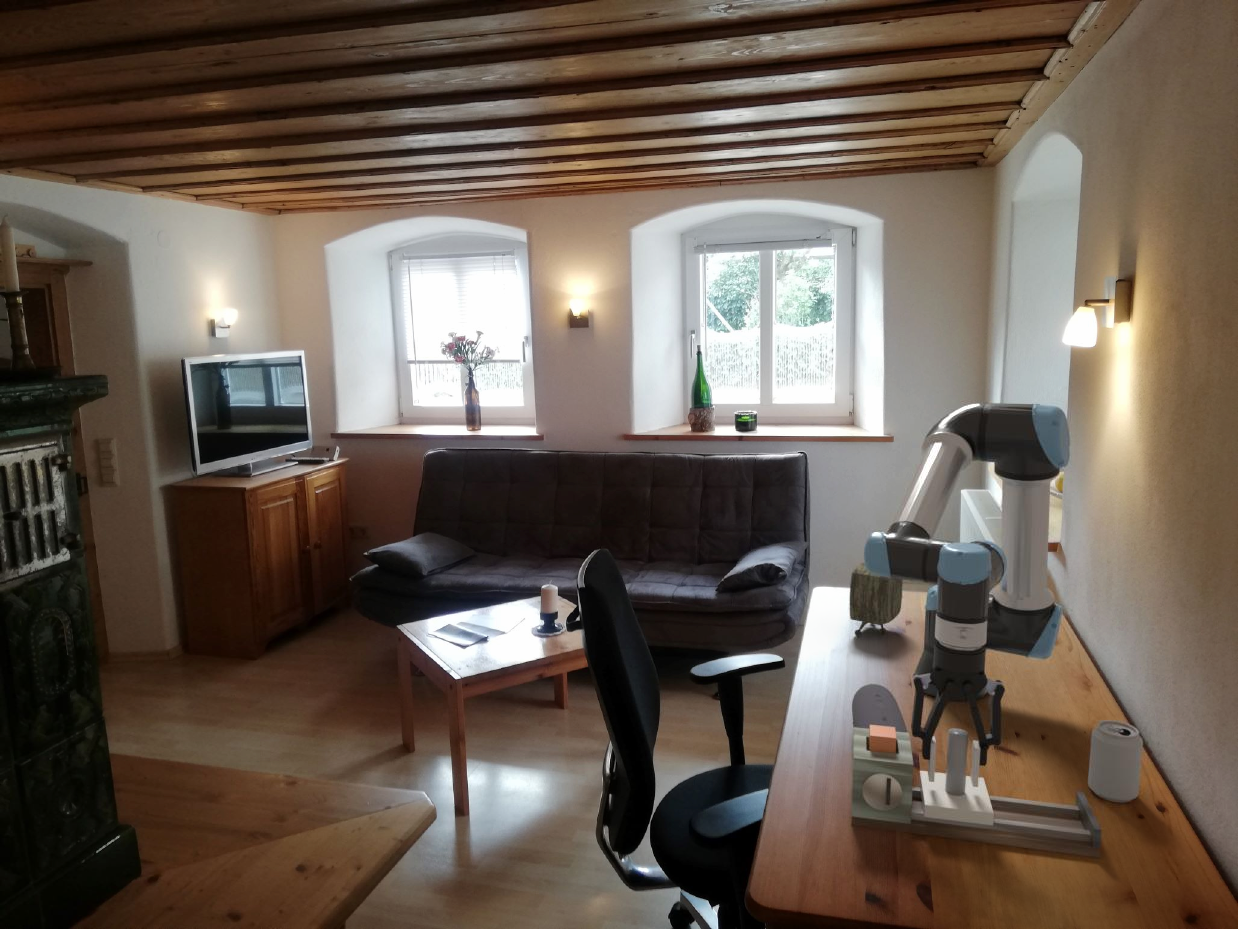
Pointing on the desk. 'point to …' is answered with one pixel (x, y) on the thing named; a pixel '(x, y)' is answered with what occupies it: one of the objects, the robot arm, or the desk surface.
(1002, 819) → the rail bed
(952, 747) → the carriage
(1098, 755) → the can
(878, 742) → the button
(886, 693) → the bluetooth speaker
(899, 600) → the tabletop clock
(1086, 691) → the desk surface
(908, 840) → the desk surface
